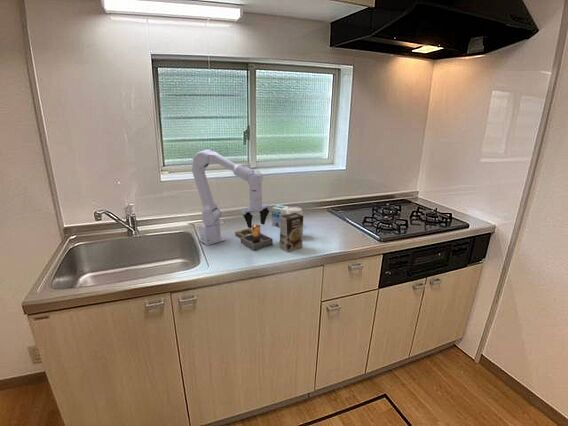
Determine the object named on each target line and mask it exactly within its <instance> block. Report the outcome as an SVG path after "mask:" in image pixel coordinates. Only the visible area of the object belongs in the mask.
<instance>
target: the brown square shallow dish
mask: <svg viewBox="0 0 568 426" xmlns="http://www.w3.org/2000/svg"><path fill="white" fill-rule="evenodd" d="M234 234H235V235H234V236H235V237H237V238H238V239H241V237H244V236H247V235H251V234H252V228H248V227H247V228H244V229H240V230H238V231H235V232H234Z"/></svg>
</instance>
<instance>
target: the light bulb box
mask: <svg viewBox="0 0 568 426" xmlns="http://www.w3.org/2000/svg"><path fill="white" fill-rule="evenodd" d="M290 207H291V206H287V205H282V204H276V205H274V206H273V207H271V227H275V228H276V227H277V228H280V216H282V215H286V211H287V210H288V208H290Z"/></svg>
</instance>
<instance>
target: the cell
mask: <svg viewBox="0 0 568 426" xmlns="http://www.w3.org/2000/svg"><path fill="white" fill-rule="evenodd" d="M251 229H252V243H254V244H255V243H258V242H260V233H261V225H260V224H258V223H255V224H252V227H251Z"/></svg>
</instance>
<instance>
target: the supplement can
mask: <svg viewBox="0 0 568 426" xmlns="http://www.w3.org/2000/svg"><path fill="white" fill-rule="evenodd" d="M289 207H290V208H288V210H287V211H286V215H287V214H291V213H297V214H300V215H303V216H304V214H303V213H304V212H303V209H302V207H299V206H289Z"/></svg>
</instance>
